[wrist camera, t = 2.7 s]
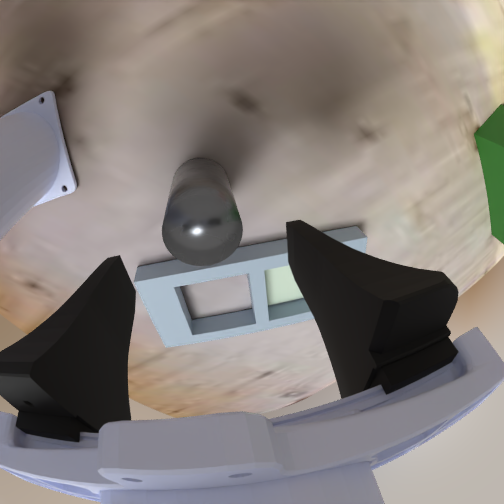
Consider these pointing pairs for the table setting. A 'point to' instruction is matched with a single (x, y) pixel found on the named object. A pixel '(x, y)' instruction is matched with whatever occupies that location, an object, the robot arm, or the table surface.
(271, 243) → the grey double-hole frame
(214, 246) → the peg
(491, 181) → the hardback book
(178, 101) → the table surface
